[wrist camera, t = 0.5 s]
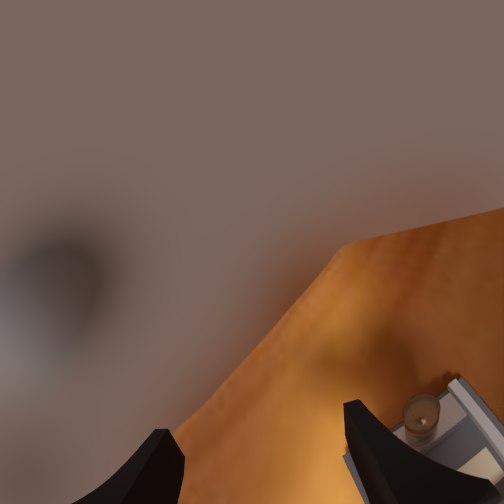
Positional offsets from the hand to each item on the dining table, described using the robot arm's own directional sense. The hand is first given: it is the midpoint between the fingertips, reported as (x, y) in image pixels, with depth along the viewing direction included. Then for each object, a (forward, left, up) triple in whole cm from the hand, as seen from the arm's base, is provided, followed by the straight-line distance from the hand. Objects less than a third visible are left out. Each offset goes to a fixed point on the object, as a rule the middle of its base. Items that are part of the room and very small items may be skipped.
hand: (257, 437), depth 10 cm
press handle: (+1, -8, -18) cm, 20 cm away
